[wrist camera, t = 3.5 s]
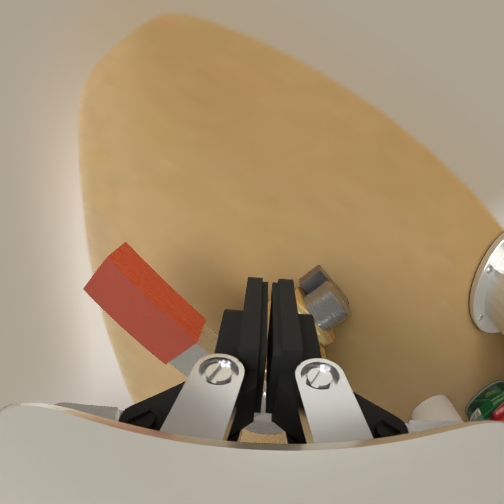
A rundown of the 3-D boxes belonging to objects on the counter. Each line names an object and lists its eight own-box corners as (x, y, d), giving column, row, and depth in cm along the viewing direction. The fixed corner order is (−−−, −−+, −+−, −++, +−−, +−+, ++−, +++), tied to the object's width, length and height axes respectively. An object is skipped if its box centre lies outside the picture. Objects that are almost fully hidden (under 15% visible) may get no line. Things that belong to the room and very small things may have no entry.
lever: (134, 232, 14) (115, 246, 12) (316, 396, 18) (318, 419, 16) (95, 280, 15) (77, 296, 14) (266, 419, 19) (264, 441, 17)
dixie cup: (445, 379, 27) (474, 440, 18) (462, 400, 29) (485, 451, 20) (391, 415, 30) (408, 478, 21) (415, 431, 32) (431, 484, 22)
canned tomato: (505, 371, 27) (536, 422, 17) (503, 395, 29) (528, 441, 19) (463, 400, 29) (489, 457, 19) (465, 421, 31) (486, 471, 21)
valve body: (311, 255, 23) (325, 316, 15) (352, 304, 24) (376, 371, 16) (199, 338, 27) (176, 404, 19) (243, 374, 28) (232, 439, 20)
